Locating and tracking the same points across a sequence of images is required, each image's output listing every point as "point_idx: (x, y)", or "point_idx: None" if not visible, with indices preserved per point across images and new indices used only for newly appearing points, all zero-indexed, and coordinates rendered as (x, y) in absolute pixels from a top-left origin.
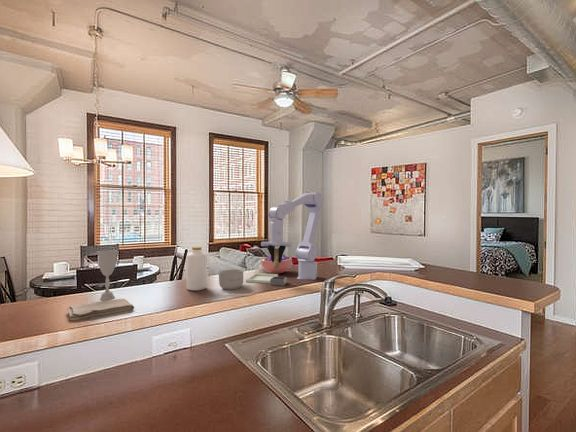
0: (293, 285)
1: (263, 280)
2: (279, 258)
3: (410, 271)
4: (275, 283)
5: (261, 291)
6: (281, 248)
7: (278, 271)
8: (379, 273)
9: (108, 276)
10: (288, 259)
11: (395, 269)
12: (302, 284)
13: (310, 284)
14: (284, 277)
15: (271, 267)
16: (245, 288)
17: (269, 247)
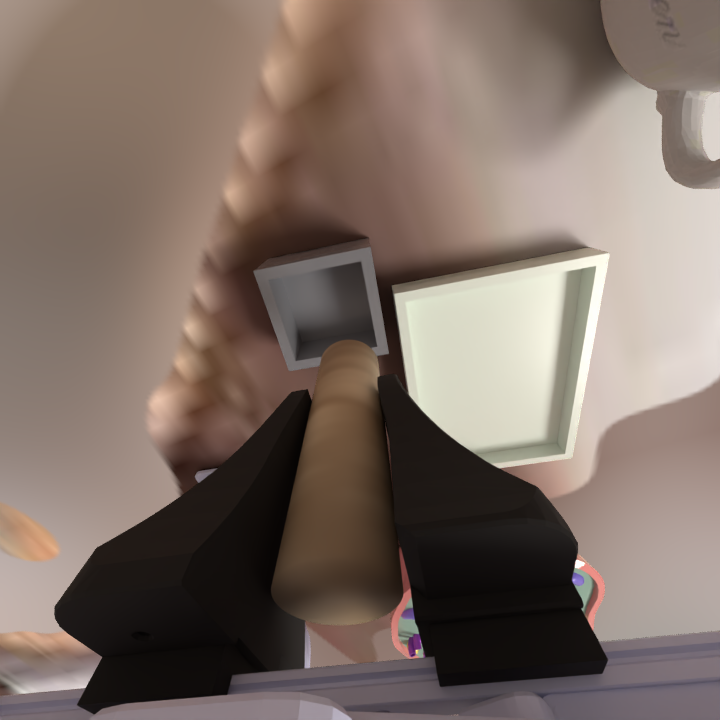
0: (238, 330)
1: (449, 282)
2: (282, 417)
3: (4, 674)
4: (327, 249)
5: (359, 5)
6: (105, 562)
7: None
8: (63, 635)
9: None
10: (396, 621)
11: (65, 681)
12: (205, 375)
13: (165, 392)
14: (300, 359)
15: None
16: (545, 58)
17: (514, 571)
